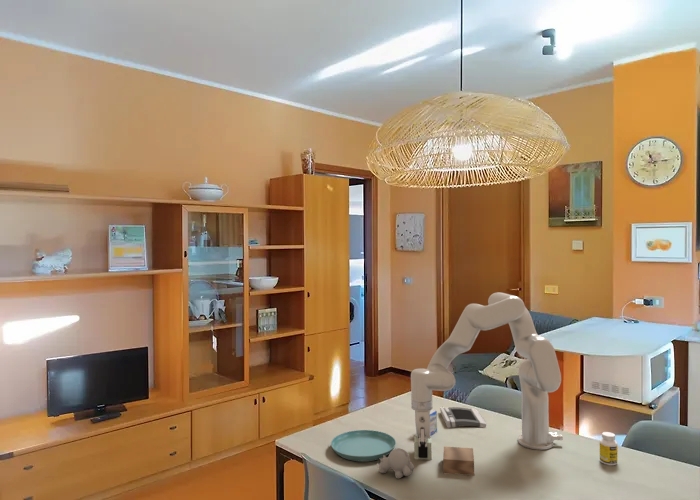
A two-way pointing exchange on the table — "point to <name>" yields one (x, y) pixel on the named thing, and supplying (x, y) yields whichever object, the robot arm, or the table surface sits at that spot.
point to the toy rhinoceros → (396, 463)
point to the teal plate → (363, 445)
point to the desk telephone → (462, 417)
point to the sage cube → (416, 444)
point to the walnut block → (458, 460)
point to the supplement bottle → (608, 449)
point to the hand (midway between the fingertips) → (423, 452)
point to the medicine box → (433, 421)
